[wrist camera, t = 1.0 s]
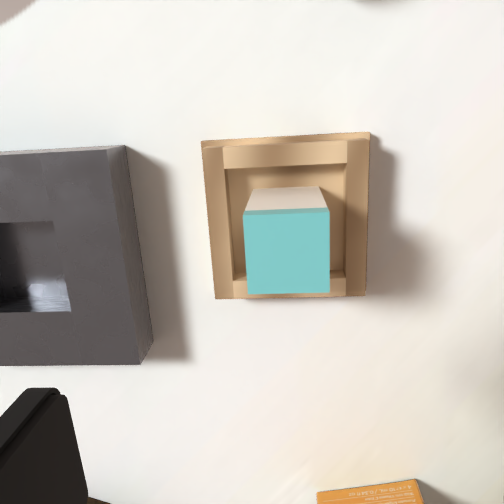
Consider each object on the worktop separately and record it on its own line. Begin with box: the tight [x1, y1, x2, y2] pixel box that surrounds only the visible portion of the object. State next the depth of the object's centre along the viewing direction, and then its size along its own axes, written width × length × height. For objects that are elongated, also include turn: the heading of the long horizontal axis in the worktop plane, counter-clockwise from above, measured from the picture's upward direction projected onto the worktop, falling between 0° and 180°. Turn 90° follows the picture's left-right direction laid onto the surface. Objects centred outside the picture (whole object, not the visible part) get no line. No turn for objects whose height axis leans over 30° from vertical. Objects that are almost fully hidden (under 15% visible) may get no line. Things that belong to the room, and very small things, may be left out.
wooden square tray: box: [201, 132, 370, 299], centre depth 27 cm, size 10×10×2 cm
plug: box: [243, 186, 330, 294], centre depth 24 cm, size 4×4×7 cm
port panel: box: [0, 145, 153, 366], centre depth 29 cm, size 14×14×3 cm
